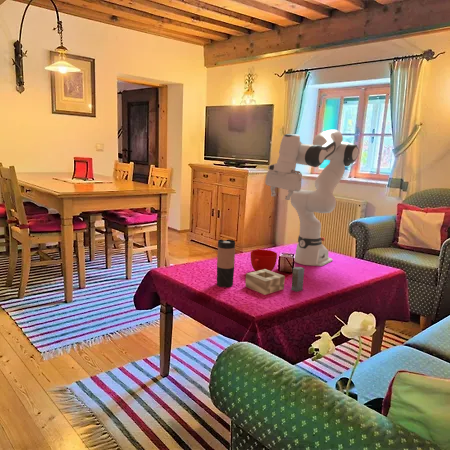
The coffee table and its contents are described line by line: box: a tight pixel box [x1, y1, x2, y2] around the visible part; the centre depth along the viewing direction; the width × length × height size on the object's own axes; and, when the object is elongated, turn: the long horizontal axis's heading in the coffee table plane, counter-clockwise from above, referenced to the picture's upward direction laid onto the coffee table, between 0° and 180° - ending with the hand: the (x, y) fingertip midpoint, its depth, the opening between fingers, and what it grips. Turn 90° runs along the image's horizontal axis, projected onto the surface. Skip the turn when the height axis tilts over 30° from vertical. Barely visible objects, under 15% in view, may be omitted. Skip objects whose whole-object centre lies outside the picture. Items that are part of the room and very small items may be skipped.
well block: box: [245, 269, 286, 296], centre depth 177 cm, size 12×12×6 cm
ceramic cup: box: [250, 249, 278, 272], centre depth 196 cm, size 13×17×10 cm
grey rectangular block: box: [290, 266, 305, 293], centre depth 175 cm, size 4×3×10 cm
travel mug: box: [216, 238, 236, 288], centre depth 177 cm, size 8×8×20 cm
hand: (280, 198), depth 189 cm, fingers open, 8 cm apart
